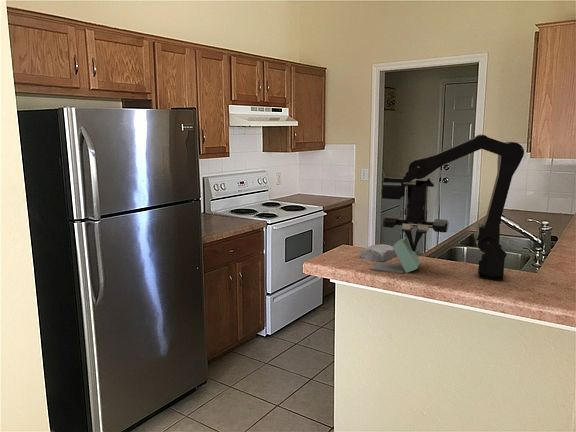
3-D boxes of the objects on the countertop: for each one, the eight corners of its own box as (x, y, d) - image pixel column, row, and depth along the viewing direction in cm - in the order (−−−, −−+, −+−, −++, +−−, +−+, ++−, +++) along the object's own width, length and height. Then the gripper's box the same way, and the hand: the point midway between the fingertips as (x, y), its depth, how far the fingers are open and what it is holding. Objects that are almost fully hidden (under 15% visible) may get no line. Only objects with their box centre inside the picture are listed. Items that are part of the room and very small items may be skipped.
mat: (407, 266, 152) (407, 265, 152) (403, 273, 144) (403, 272, 144) (376, 262, 156) (376, 261, 155) (370, 269, 148) (370, 268, 148)
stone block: (357, 263, 161) (384, 263, 155) (356, 249, 161) (382, 248, 155) (374, 257, 171) (400, 256, 165) (372, 244, 171) (398, 242, 165)
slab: (420, 262, 150) (407, 236, 150) (416, 268, 143) (403, 241, 144) (410, 266, 151) (396, 241, 152) (406, 273, 145) (392, 246, 145)
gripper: (451, 199, 147) (448, 248, 150) (391, 195, 154) (388, 242, 157) (448, 204, 137) (444, 257, 140) (383, 200, 144) (381, 250, 147)
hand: (413, 251), depth 146 cm, fingers closed
